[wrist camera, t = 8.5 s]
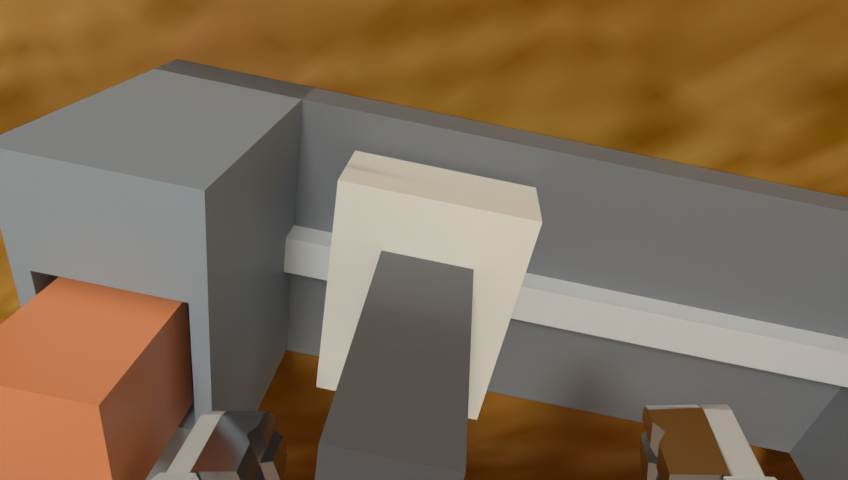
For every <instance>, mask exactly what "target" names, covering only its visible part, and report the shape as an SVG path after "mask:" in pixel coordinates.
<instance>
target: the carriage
mask: <svg viewBox="0 0 848 480" xmlns="http://www.w3.org/2000/svg"><path fill="white" fill-rule="evenodd" d="M541 225H542V217H541V212H540V206H539V201H538V196H537V190H536V188H535V187H530V186H526V185H521V184H516V183H511V182H506V181H501V180H496V179H492V178H487V177H482V176H477V175H472V174H467V173H462V172H458V171H453V170H448V169H443V168H438V167H433V166H428V165H424V164H419V163H414V162H409V161H404V160H399V159H394V158H390V157H385V156H380V155H375V154H370V153H365V152H360V151H356V150H355V152H354V153H353V155H352V157H351V158H350V160H349V162H348V164H347V165H346V167H345V169H344V170H343V172H342V174H341V176H340V177H339V179H338V183H337V192H336V202H335V211H334V221H333V230H332V240H331V249H330V259H329V268H328V278H327V287H326V297H325V306H324V316H323V325H322V335H321V344H320V354H319V363H318V373H317V382H316V387H318V388H323V389H328V390H333V391H336V392H335V395H334V398H333V401H332V404H331V407H330V410H329V413H328V416H327V419H326V422H325V425H324V429H323V432H322V435H321V438H320V441H319V445H318V454H317V462H316V471H315V479H314V480H464V477H465V474H466V454H467V428H468V418H470V419H474V420H477V418H478V415H479V412H480V409H481V406H482V403H483V400H484V397H485V394H486V391H487V388H488V385H489V382H490V379H491V376H492V373H493V370H494V367H495V364H496V361H497V358H498V355H499V352H500V349H501V346H502V343H503V340H504V337H505V334H506V331H507V328H508V325H509V322H510V319H511V316H512V313H513V310H514V307H515V304H516V301H517V298H518V295H519V292H520V289H521V286H522V283H523V280H524V277H525V274H526V271H527V267H528V264H529V261H530V258H531V255H532V252H533V249H534V246H535V243H536V240H537V237H538V234H539V231H540V228H541Z"/></svg>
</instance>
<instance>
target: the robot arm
mask: <svg viewBox="0 0 848 480" xmlns="http://www.w3.org/2000/svg"><path fill="white" fill-rule="evenodd" d="M642 421H643V424H644V428H645V432H644V433H643V434H642V435H641V442H640V451H641V462H642V467H643V473H644V476H645V480H777V479H776V478H775V477H765V475H764V473H763V471H762V469H761V467H760V465H759V463H758V461H757V459H756V457H755V455H754V453H753V451H752V449H751V447H750V445H749V443H748V441H747V439H746V437H745V436H744V434H743V432H742V430H741V428H740V426H739V424H738V422H737V420H736V418H735V416H734V414H733V412H732V410H731V408H730V407H729V406H728V405H727V404H712V405H659V406H645V407H644V409H643V416H642ZM276 425H277V421H276V418H275V416H274V414H273V412H269V411H206V412H205V413H203V414H202V415H201V416H200V417H199V419H198V420H197V422H196V424H195V425H194V427H193V429H192V430H191V432H190V434H189V435H188V437H187V439H186V440H185V442H184V444H183V445H182V447H181V449H180V450H179V452H178V454H177V455H176V457H175V458H174V460H173V462H172V463H171V465H170V467H169V468H168V470H167V472H162V473H159V474H157V475H156V476H155V477H153V478H152V479H150V480H281V478H282V476H283V473H284V470H285V465H286V457H287V453H286V445H285V442H284V439H283V437H282V436H281V435H280V434H278V433H277V432H276V431H274V430H275V427H276Z"/></svg>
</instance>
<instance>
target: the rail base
mask: <svg viewBox="0 0 848 480" xmlns="http://www.w3.org/2000/svg"><path fill="white" fill-rule="evenodd" d="M355 150H356V151H360V152H365V153H370V154H375V155H380V156H385V157H390V158H394V159H399V160H404V161H409V162H414V163H419V164H424V165H428V166H433V167H438V168H443V169H448V170H453V171H458V172H462V173H467V174H472V175H477V176H482V177H487V178H492V179H496V180H501V181H506V182H511V183H516V184H521V185H526V186H530V187H535V188H536V190H537V196H538V201H539V206H540V212H541V217H542V225H541V228H540V231H539V234H538V237H537V240H536V243H535V246H534V249H533V252H532V255H531V258H530V261H529V264H528V267H527V271H526V274H525V277H524V280H523V283H522V286H521V289H520V292H519V295H518V298H517V301H516V304H515V307H514V310H513V313H512V316H511V319H510V322H509V325H508V328H507V331H506V334H505V337H504V340H503V343H502V346H501V349H500V352H499V355H498V358H497V361H496V364H495V367H494V370H493V373H492V376H491V379H490V382H489V385H488V388H487V391H489V392H494V393H499V394H504V395H508V396H513V397H518V398H523V399H528V400H533V401H538V402H543V403H548V404H552V405H557V406H562V407H567V408H572V409H577V410H582V411H587V412H591V413H596V414H601V415H606V416H611V417H616V418H621V419H626V420H631V421H635V422H640V423H643V421H642V416H643V409H644V407H645V406H659V405H712V404H727V405H728V406H729V407H730V408H731V410H732V412H733V414H734V416H735V418H736V420H737V422H738V424H739V426H740V428H741V430H742V432H743V434H744V436H745V437H746V439H747V441H748V443H749V445H753V446H757V447H762V448H767V449H772V450H777V451H782V452H787V453H789V454H790V456H791V457H792V459H793V461H794V463H795V464H796V466H797V468H798V470H799V471H800V473H801V475H802V477H803V478H804V480H848V198H846V197H842V196H837V195H832V194H827V193H822V192H817V191H813V190H808V189H803V188H798V187H793V186H788V185H783V184H779V183H774V182H769V181H764V180H759V179H754V178H750V177H745V176H740V175H735V174H730V173H725V172H720V171H716V170H711V169H706V168H701V167H696V166H691V165H687V164H682V163H677V162H672V161H667V160H662V159H657V158H653V157H648V156H643V155H638V154H633V153H628V152H623V151H619V150H614V149H609V148H604V147H599V146H594V145H590V144H585V143H580V142H575V141H570V140H565V139H560V138H556V137H551V136H546V135H541V134H536V133H531V132H527V131H522V130H517V129H512V128H507V127H502V126H497V125H493V124H488V123H483V122H478V121H473V120H468V119H464V118H459V117H454V116H449V115H444V114H439V113H434V112H430V111H425V110H420V109H415V108H410V107H405V106H401V105H396V104H391V103H386V102H381V101H376V100H371V99H367V98H362V97H357V96H352V95H347V94H342V93H338V92H333V91H328V90H323V89H318V88H313V87H308V86H304V85H299V84H294V83H289V82H284V81H279V80H274V79H270V78H265V77H260V76H255V75H250V74H245V73H241V72H236V71H231V70H226V69H221V68H216V67H211V66H207V65H202V64H197V63H192V62H187V61H182V60H178V59H176V60H174V61H172V62H169V63H167V64H165V65H162V66H160V67H158V68H155V69H153V70H151V71H148V72H146V73H144V74H141V75H139V76H137V77H134V78H132V79H130V80H127V81H125V82H123V83H120V84H118V85H116V86H113V87H111V88H109V89H106V90H104V91H102V92H99V93H97V94H95V95H92V96H90V97H88V98H85V99H83V100H81V101H78V102H76V103H74V104H71V105H69V106H67V107H64V108H62V109H60V110H57V111H55V112H53V113H50V114H48V115H46V116H43V117H41V118H39V119H36V120H34V121H32V122H29V123H27V124H25V125H23V126H20V127H18V128H16V129H13V130H11V131H9V132H6V133H4V134H2V135H0V228H1V232H2V236H3V239H4V243H5V247H6V251H7V255H8V259H9V263H10V267H11V271H12V275H13V278H14V282H15V286H16V290H17V294H18V298H19V302H20V306H21V307H23V306H24V305H25V304H26V303H27V302H29V301H30V300H31V299H32V298H34V297H35V296H36V295H37V294H38V293H40V292H41V291H42V290H43V289H45V288H46V287H47V286H48V285H49V284H51V283H52V282H53V281H54V280H56V279H57V278H58V277H64V278H69V279H73V280H78V281H83V282H88V283H93V284H98V285H103V286H108V287H112V288H117V289H122V290H127V291H132V292H137V293H142V294H147V295H152V296H156V297H161V298H166V299H171V300H176V301H181V302H186V303H187V310H188V327H189V345H190V362H191V379H192V396H193V403H192V405H191V407H190V408H189V410H188V411H187V413H186V415H185V416H184V418H183V420H182V421H181V423H180V424H179V426H178V428H177V429H176V431H175V433H174V434H173V436H172V437H171V439H170V441H169V442H168V444H167V446H166V447H165V449H164V450H163V452H162V454H161V455H160V457H159V458H158V460H157V462H156V463H155V465H154V467H153V468H152V470H151V471H150V473H149V475H148V476H147V478H146V480H150V479H152V478H153V477H155V476H156V475H157V474H159V473H162V472H167V470H168V468H169V467H170V465H171V463H172V462H173V460H174V458H175V457H176V455H177V454H178V452H179V450H180V449H181V447H182V445H183V444H184V442H185V440H186V439H187V437H188V435H189V434H190V432H191V430H192V429H193V427H194V425H195V424H196V422H197V420H198V419H199V417H200V416H201V415H202V414H203V413H205V412H206V411H258V409H259V407H260V404H261V402H262V400H263V398H264V396H265V394H266V392H267V390H268V388H269V385H270V383H271V381H272V379H273V377H274V375H275V373H276V371H277V369H278V366H279V364H280V362H281V360H282V358H283V356H284V354H285V352H286V350H289V351H294V352H298V353H303V354H308V355H313V356H318V357H319V354H320V344H321V335H322V325H323V316H324V306H325V297H326V287H327V278H328V268H329V259H330V249H331V240H332V230H333V221H334V211H335V202H336V192H337V183H338V179H339V177H340V176H341V174H342V172H343V170H344V169H345V167H346V165H347V164H348V162H349V160H350V158H351V157H352V155H353V153H354V152H355Z"/></svg>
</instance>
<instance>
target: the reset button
mask: <svg viewBox="0 0 848 480" xmlns="http://www.w3.org/2000/svg"><path fill="white" fill-rule="evenodd" d="M192 403H193V396H192V379H191V362H190V345H189V327H188V310H187V303H186V302H181V301H176V300H171V299H166V298H161V297H156V296H152V295H147V294H142V293H137V292H132V291H127V290H122V289H117V288H112V287H108V286H103V285H98V284H93V283H88V282H83V281H78V280H73V279H69V278H64V277H58V278H57V279H56V280H54V281H53V282H52V283H51V284H49V285H48V286H47V287H46V288H45V289H43V290H42V291H41V292H40V293H38V294H37V295H36V296H35V297H34V298H32V299H31V300H30V301H29V302H27V303H26V304H25V305H24V306H23V307H21V308H20V309H19V310H18V311H16V312H15V313H14V314H13V315H12V316H10V317H9V318H8V319H7V320H5V321H4V322H3V323H2V324H1V325H0V480H146V478H147V476H148V475H149V473H150V471H151V470H152V468H153V467H154V465H155V463H156V462H157V460H158V458H159V457H160V455H161V454H162V452H163V450H164V449H165V447H166V446H167V444H168V442H169V441H170V439H171V437H172V436H173V434H174V433H175V431H176V429H177V428H178V426H179V424H180V423H181V421H182V420H183V418H184V416H185V415H186V413H187V411H188V410H189V408H190V407H191V405H192Z"/></svg>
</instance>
